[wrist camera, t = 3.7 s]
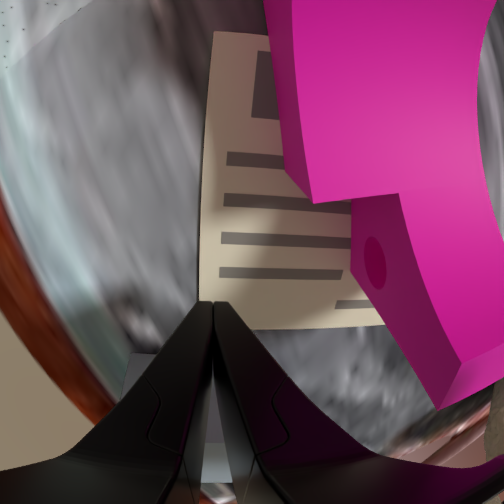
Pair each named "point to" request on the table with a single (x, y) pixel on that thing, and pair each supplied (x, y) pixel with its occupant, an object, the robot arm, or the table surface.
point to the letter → (267, 209)
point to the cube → (215, 447)
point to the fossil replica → (495, 423)
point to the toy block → (400, 169)
